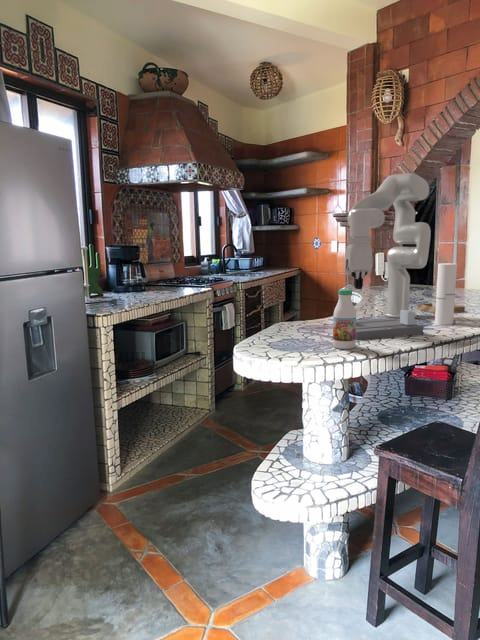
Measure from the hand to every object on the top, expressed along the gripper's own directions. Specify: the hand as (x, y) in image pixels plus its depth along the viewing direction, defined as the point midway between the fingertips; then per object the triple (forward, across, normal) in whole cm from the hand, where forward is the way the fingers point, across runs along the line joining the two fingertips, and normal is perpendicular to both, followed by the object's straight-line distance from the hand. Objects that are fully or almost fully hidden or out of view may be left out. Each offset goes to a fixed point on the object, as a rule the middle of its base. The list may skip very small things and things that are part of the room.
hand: (358, 288), depth 184 cm
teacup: (+18, -58, -26) cm, 66 cm away
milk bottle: (+17, +17, +23) cm, 33 cm away
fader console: (+17, -6, +5) cm, 19 cm away
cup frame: (+17, -60, -28) cm, 68 cm away
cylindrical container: (+17, -41, -1) cm, 44 cm away
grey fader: (+13, -16, +10) cm, 23 cm away
